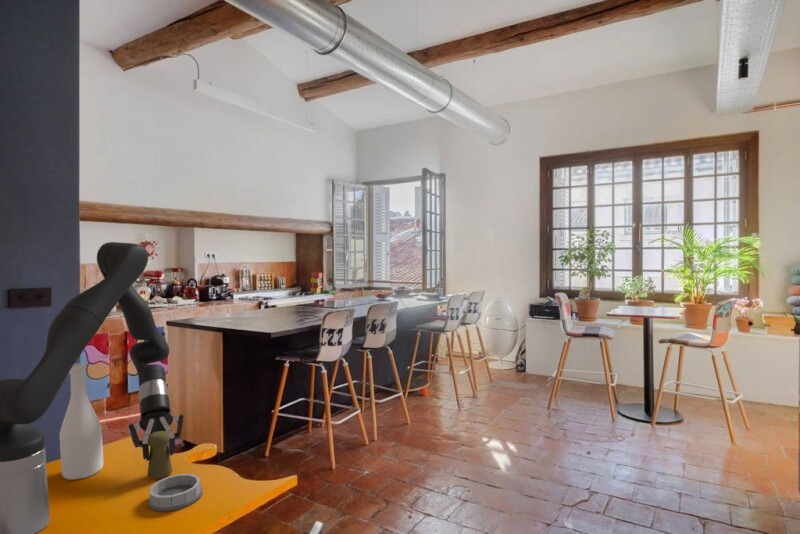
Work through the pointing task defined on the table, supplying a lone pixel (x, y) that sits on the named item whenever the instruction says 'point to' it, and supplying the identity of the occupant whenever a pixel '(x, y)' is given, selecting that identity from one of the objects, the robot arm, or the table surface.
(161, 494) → the small gray bowl
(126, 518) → the table surface
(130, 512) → the table surface
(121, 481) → the table surface
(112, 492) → the table surface
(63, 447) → the wine bottle
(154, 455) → the cork
